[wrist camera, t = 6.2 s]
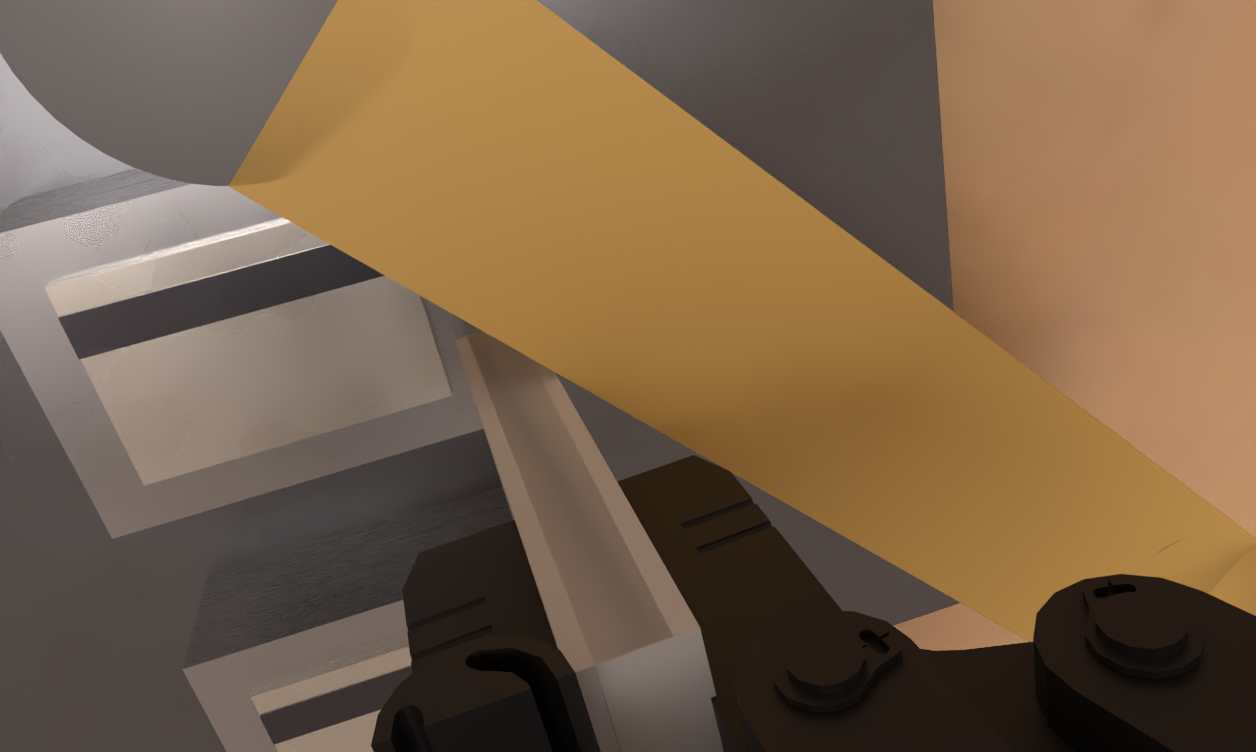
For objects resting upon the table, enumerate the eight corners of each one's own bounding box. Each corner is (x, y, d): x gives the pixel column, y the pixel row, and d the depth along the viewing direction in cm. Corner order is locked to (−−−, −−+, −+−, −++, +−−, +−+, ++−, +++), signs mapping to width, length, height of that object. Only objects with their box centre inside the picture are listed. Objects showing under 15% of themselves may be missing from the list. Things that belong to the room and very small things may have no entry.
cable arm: (74, -3, 13) (-117, 31, 8) (205, -253, 12) (86, -388, 7) (967, 541, 21) (1161, 738, 15) (1081, 404, 20) (1325, 564, 15)
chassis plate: (-35, 902, 20) (-116, 1092, 17) (-734, -3, 12) (-1138, 18, 9) (949, 572, 23) (1047, 680, 19) (876, -343, 15) (1019, -423, 12)
